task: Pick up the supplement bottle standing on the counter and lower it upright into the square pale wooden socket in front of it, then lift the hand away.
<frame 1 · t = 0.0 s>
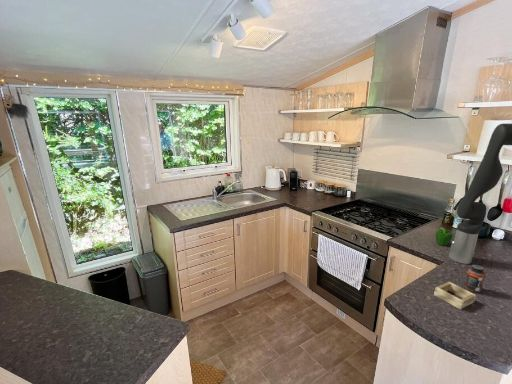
wooden socket: (453, 298, 111), on the counter
supplement bottle: (472, 289, 118), on the counter
bell pepper: (442, 244, 162), on the counter
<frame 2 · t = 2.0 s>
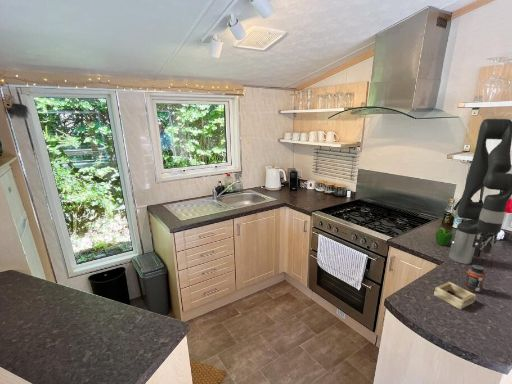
hand: (481, 254, 113), 17 cm above the counter, tool pointing down, fingers open, 8 cm apart
nothing on the counter moved.
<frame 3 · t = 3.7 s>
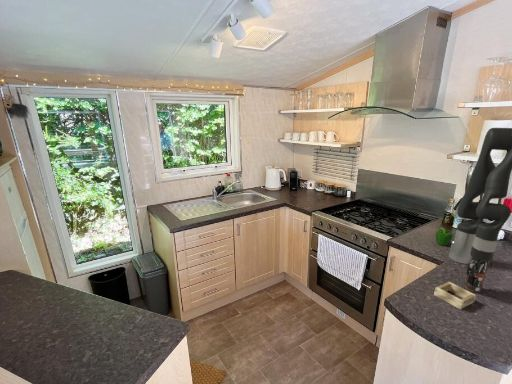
hand: (474, 281, 117), 4 cm above the counter, tool pointing down, fingers closed on supplement bottle, 6 cm apart
supplement bottle: (472, 289, 118), on the counter, touching gripper
everything else where it was.
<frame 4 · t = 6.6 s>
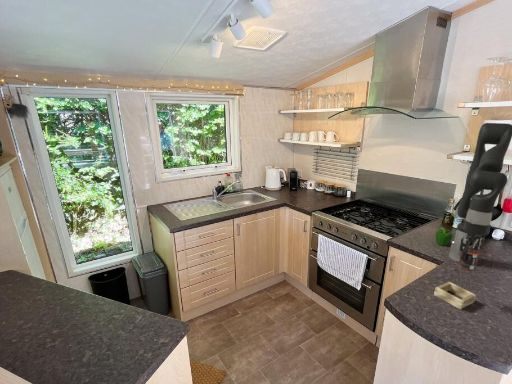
hand: (468, 259, 107), 18 cm above the counter, tool pointing down, fingers closed on supplement bottle, 6 cm apart
supplement bottle: (466, 268, 108), point 14 cm above the counter, touching gripper
everything else where it was.
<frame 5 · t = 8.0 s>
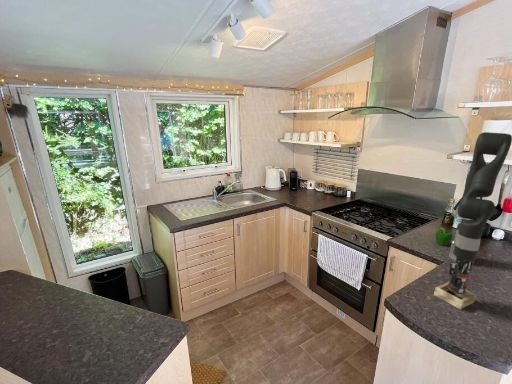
hand: (457, 282, 109), 8 cm above the counter, tool pointing down, fingers closed on supplement bottle, 6 cm apart
supplement bottle: (455, 291, 110), point 4 cm above the counter, touching gripper
everything else where it was.
when the fingers open (5 cm above the counter, at t = 9.1 s): supplement bottle drops 1 cm, resting in wooden socket.
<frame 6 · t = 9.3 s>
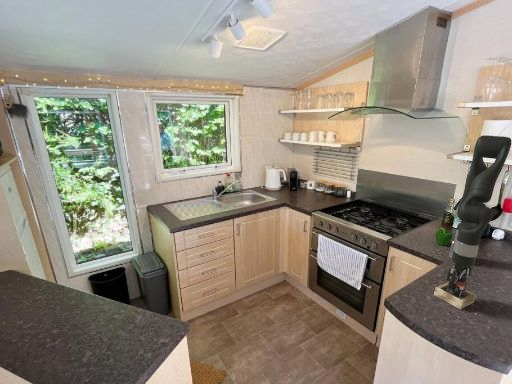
hand: (456, 287, 110), 6 cm above the counter, tool pointing down, fingers open, 7 cm apart
supplement bottle: (453, 298, 111), resting in wooden socket
everything else where it was.
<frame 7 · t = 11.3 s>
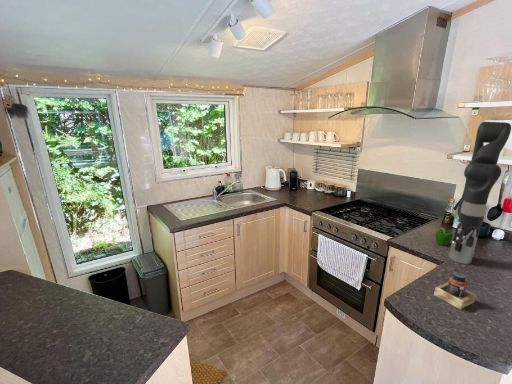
hand: (463, 248, 109), 22 cm above the counter, tool pointing down, fingers open, 8 cm apart
nothing on the counter moved.
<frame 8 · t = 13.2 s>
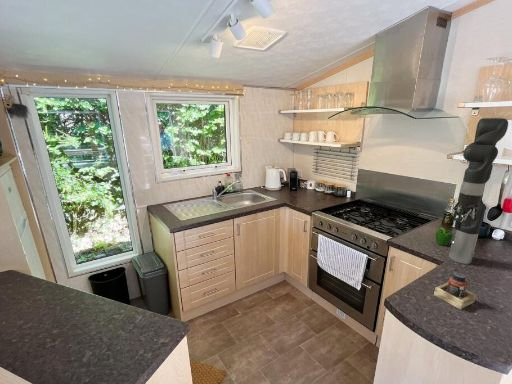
hand: (462, 227, 114), 28 cm above the counter, tool pointing down, fingers open, 8 cm apart
nothing on the counter moved.
at the end: supplement bottle 0.2 cm off-centre on the wooden socket, point 0.0 cm above the wooden socket's base; supplement bottle tilted 0°; the gripper is holding nothing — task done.
